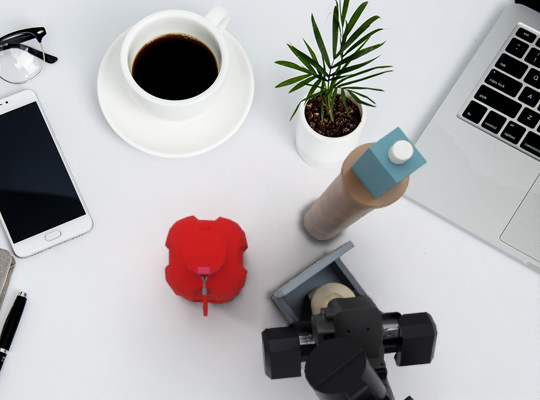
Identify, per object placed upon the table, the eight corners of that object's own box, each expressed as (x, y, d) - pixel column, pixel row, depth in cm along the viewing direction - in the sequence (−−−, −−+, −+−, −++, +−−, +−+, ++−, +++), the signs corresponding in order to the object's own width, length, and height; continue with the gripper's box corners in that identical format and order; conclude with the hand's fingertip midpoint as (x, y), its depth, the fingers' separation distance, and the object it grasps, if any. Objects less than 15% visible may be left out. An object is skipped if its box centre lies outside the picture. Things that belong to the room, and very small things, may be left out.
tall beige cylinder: (352, 227, 84) (423, 181, 55) (317, 252, 84) (369, 220, 55) (326, 192, 86) (381, 129, 56) (291, 217, 85) (328, 166, 56)
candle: (351, 300, 81) (369, 298, 71) (331, 336, 81) (345, 339, 71) (315, 278, 82) (328, 273, 72) (294, 313, 81) (304, 313, 72)
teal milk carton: (401, 180, 55) (433, 157, 47) (375, 199, 55) (402, 179, 47) (376, 149, 56) (403, 120, 48) (350, 167, 56) (372, 142, 47)
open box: (371, 314, 82) (382, 315, 77) (313, 356, 82) (320, 360, 76) (327, 256, 84) (335, 252, 78) (270, 296, 83) (274, 295, 78)
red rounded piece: (174, 314, 84) (154, 315, 59) (176, 234, 86) (158, 203, 61) (242, 317, 83) (250, 318, 58) (243, 236, 85) (252, 205, 60)
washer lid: (355, 246, 68) (350, 240, 68) (284, 296, 67) (280, 290, 67) (337, 254, 78) (334, 249, 78) (276, 298, 77) (272, 293, 77)
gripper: (469, 334, 57) (412, 234, 70) (270, 355, 58) (250, 252, 71) (453, 410, 64) (404, 305, 77) (274, 428, 64) (255, 320, 77)
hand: (330, 295), depth 75 cm, fingers closed on candle, 5 cm apart
